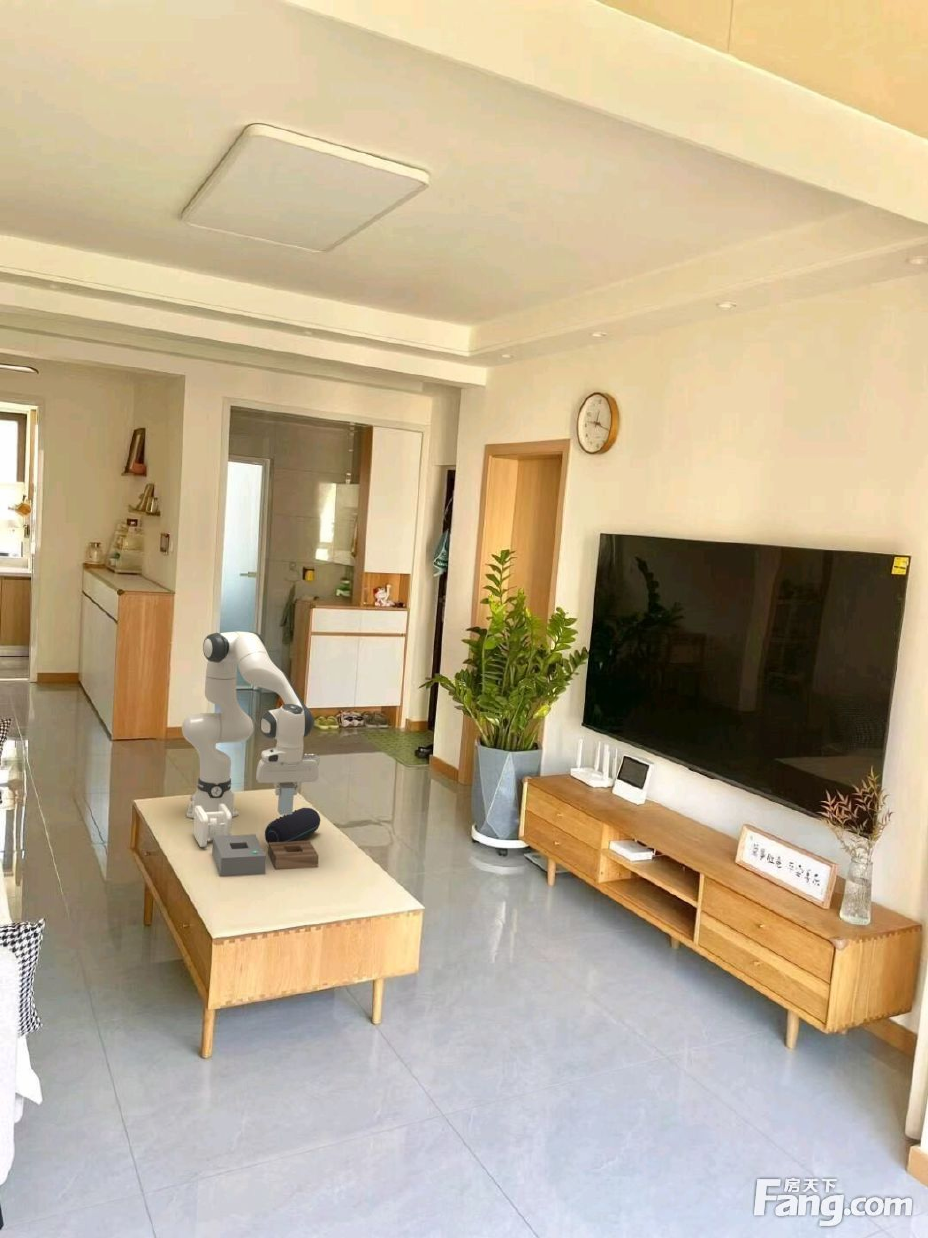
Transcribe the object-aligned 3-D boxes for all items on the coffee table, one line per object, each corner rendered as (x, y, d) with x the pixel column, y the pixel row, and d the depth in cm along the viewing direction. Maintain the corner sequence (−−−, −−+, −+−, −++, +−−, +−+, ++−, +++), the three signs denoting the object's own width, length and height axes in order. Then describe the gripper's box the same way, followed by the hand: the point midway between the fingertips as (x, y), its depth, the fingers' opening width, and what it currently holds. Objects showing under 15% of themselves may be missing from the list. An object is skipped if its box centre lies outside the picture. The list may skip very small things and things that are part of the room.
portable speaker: (299, 829, 353) (301, 802, 352) (322, 834, 349) (324, 808, 348) (258, 848, 330) (260, 820, 329) (283, 854, 326) (285, 826, 325)
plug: (277, 810, 320) (279, 781, 319) (289, 810, 321) (291, 781, 320) (280, 814, 316) (282, 785, 315) (292, 814, 318) (294, 785, 317)
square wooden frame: (267, 854, 326) (268, 842, 325) (308, 851, 331) (309, 840, 330) (275, 869, 313) (276, 857, 312) (317, 867, 318) (318, 855, 318)
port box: (212, 853, 322) (213, 835, 321) (254, 851, 327) (255, 833, 326) (220, 876, 303) (221, 856, 302) (264, 873, 308) (266, 854, 308)
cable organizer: (231, 848, 328) (233, 815, 326) (199, 851, 323) (201, 817, 322) (221, 833, 341) (223, 801, 340) (191, 835, 336) (193, 803, 335)
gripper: (317, 751, 323) (314, 790, 325) (256, 751, 315) (253, 792, 317) (322, 756, 318) (319, 796, 319) (260, 757, 310) (257, 798, 311)
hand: (286, 794), depth 318 cm, fingers closed on plug, 4 cm apart
